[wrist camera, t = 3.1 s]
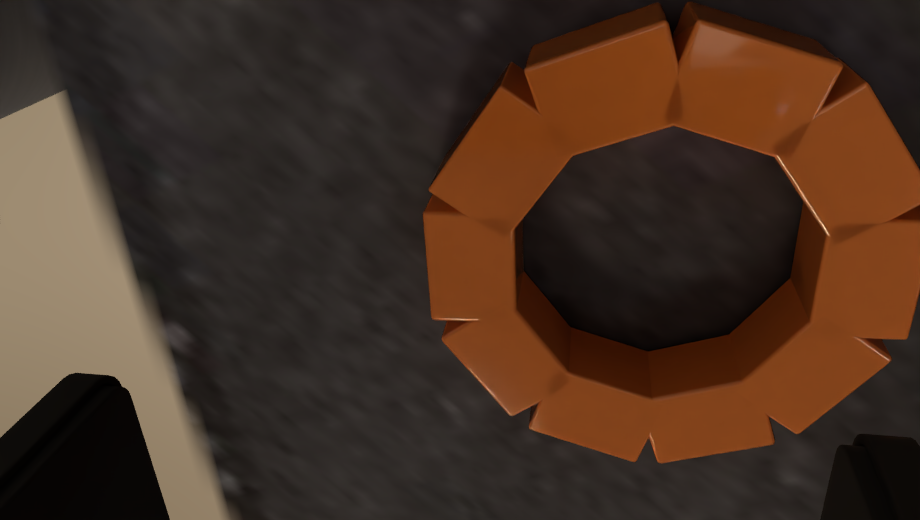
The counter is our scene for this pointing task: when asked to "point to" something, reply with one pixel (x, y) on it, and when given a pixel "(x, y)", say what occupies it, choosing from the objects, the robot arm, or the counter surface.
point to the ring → (710, 114)
